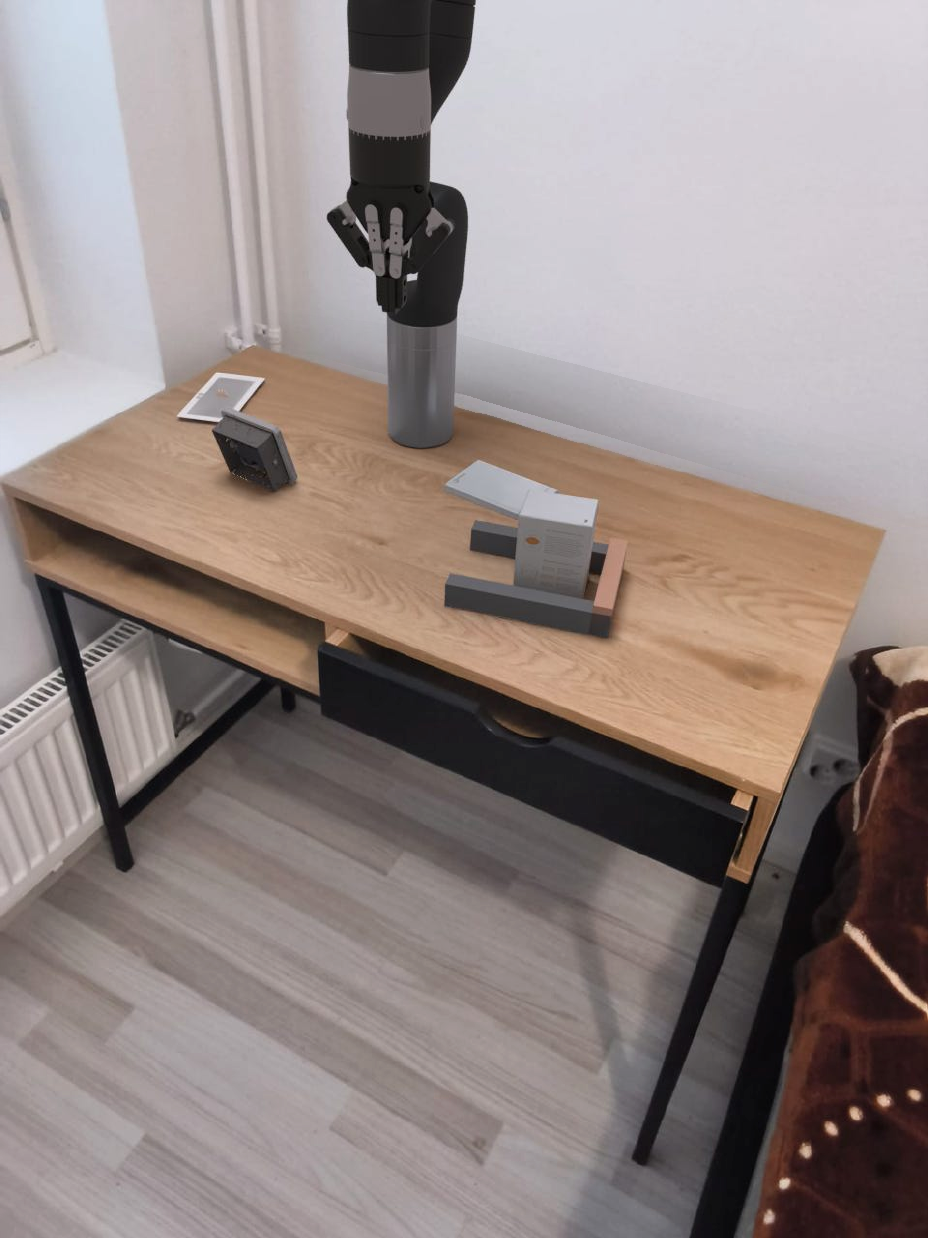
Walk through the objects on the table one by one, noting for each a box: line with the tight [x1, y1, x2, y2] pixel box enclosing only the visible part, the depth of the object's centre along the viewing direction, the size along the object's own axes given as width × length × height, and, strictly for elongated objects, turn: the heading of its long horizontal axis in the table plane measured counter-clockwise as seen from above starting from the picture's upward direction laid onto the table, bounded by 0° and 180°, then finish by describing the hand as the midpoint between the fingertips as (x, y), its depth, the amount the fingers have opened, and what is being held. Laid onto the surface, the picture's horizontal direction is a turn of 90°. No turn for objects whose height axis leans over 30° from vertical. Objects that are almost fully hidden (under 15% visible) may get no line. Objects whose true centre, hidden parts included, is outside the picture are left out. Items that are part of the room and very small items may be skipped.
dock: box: [443, 519, 629, 639], centre depth 103 cm, size 13×18×4 cm
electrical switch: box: [211, 407, 299, 493], centre depth 116 cm, size 9×5×9 cm, turn 57°
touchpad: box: [176, 372, 266, 423], centre depth 135 cm, size 8×15×2 cm, turn 170°
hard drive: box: [443, 459, 559, 521], centre depth 119 cm, size 2×8×12 cm
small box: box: [512, 489, 600, 599], centre depth 101 cm, size 8×6×10 cm
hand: (391, 310), depth 94 cm, fingers closed
